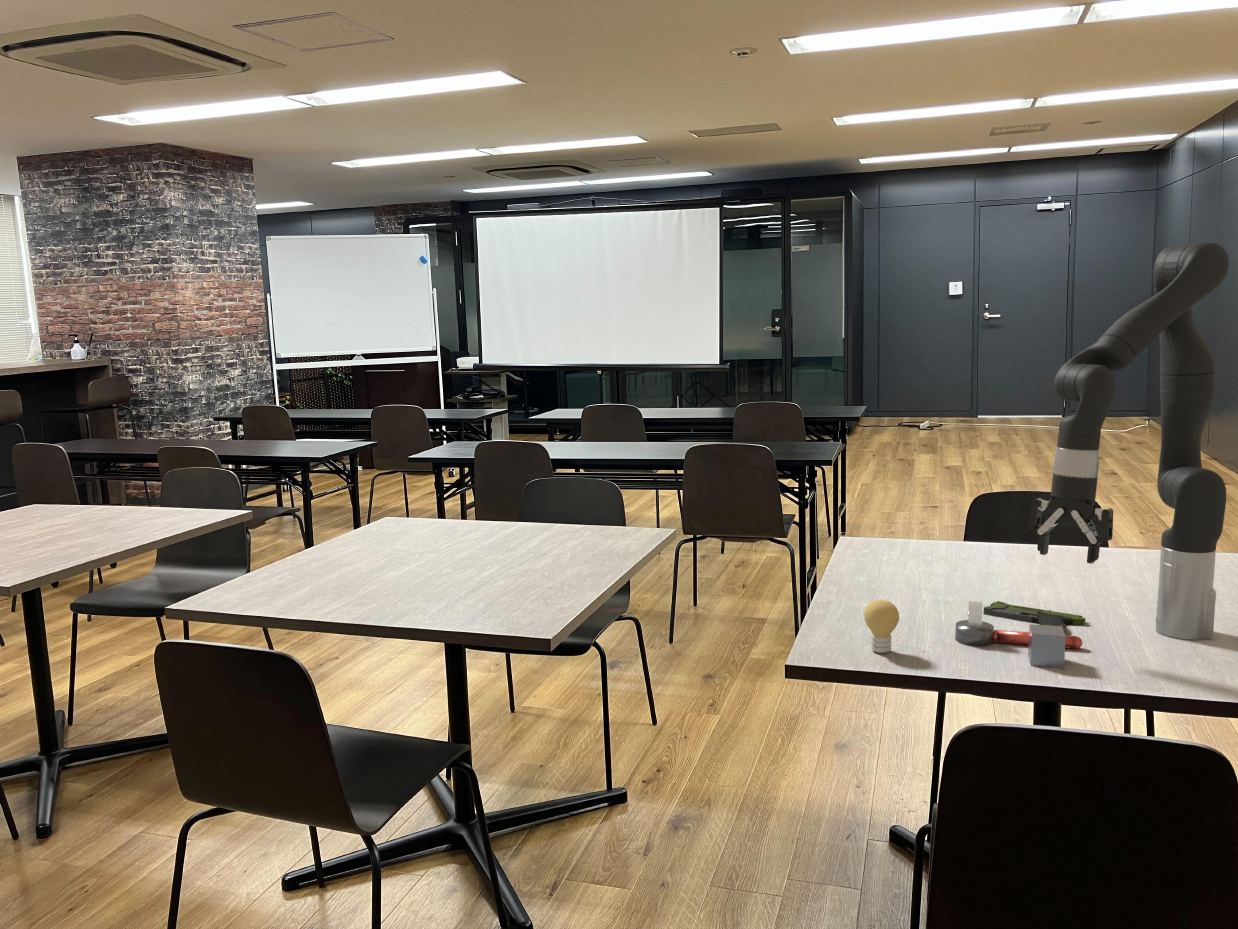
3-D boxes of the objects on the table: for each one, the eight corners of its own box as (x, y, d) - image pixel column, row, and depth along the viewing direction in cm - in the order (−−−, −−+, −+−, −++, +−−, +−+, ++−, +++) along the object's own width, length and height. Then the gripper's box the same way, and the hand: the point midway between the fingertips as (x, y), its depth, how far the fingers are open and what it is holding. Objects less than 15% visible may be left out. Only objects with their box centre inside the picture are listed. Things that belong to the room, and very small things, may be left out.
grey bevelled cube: (1060, 658, 175) (1061, 626, 175) (1064, 668, 170) (1065, 636, 169) (1028, 655, 177) (1029, 624, 176) (1030, 665, 172) (1032, 633, 171)
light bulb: (892, 645, 184) (893, 595, 183) (903, 656, 178) (904, 605, 177) (859, 646, 184) (860, 596, 183) (869, 657, 178) (870, 606, 176)
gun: (969, 626, 197) (993, 609, 208) (1067, 642, 185) (1087, 624, 196) (969, 614, 197) (993, 598, 208) (1067, 629, 185) (1087, 612, 196)
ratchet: (1079, 643, 183) (1081, 605, 182) (1084, 655, 177) (1086, 616, 175) (955, 633, 190) (956, 597, 189) (955, 644, 184) (956, 607, 183)
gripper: (1123, 476, 173) (1114, 563, 175) (1044, 466, 183) (1036, 548, 185) (1108, 479, 168) (1099, 569, 170) (1028, 469, 178) (1020, 554, 180)
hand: (1066, 558), depth 178 cm, fingers open, 8 cm apart
